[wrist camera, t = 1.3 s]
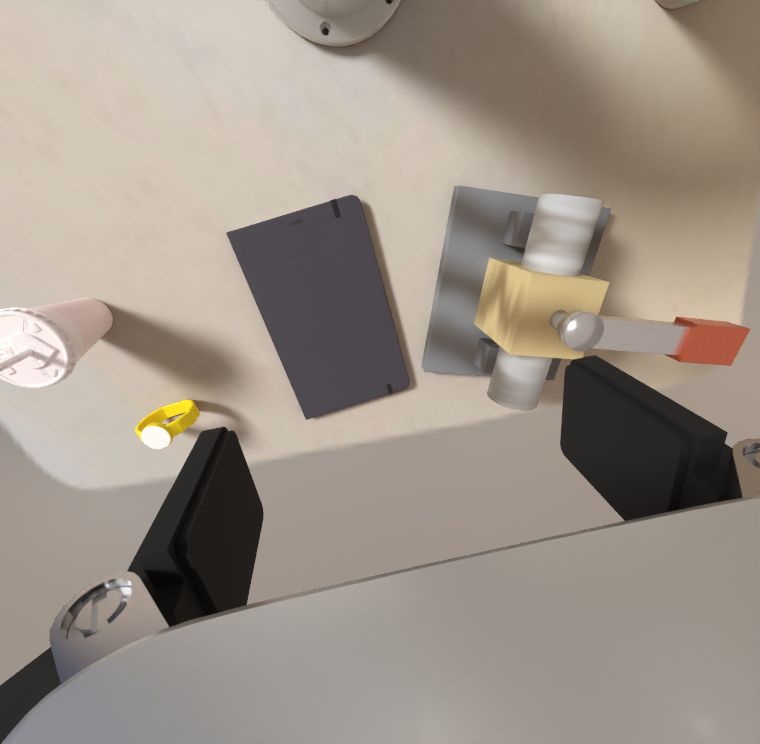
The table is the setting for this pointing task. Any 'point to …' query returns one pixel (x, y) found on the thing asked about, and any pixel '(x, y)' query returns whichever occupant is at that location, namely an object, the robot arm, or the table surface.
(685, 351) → the lever
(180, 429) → the watch
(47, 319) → the smoothie
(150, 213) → the table surface
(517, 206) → the valve stand
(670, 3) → the coffee cup
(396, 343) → the notebook
